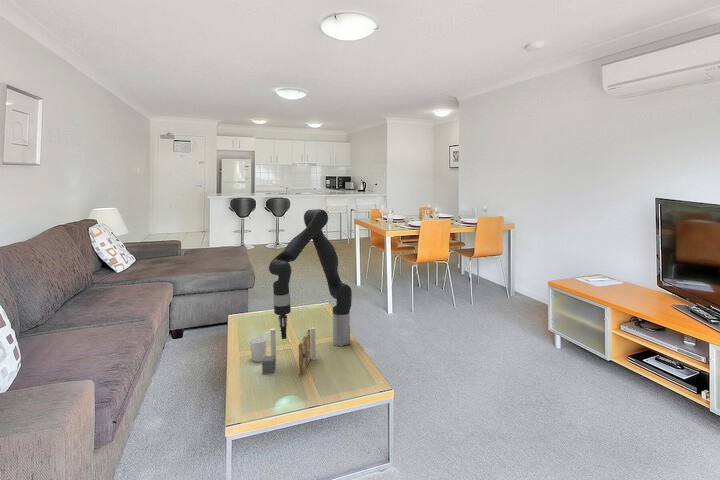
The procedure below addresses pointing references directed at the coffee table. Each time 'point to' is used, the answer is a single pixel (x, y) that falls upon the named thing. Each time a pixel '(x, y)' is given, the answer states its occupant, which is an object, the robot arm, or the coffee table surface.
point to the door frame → (313, 346)
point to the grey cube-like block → (268, 364)
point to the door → (304, 352)
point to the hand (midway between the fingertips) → (284, 338)
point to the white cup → (258, 348)
